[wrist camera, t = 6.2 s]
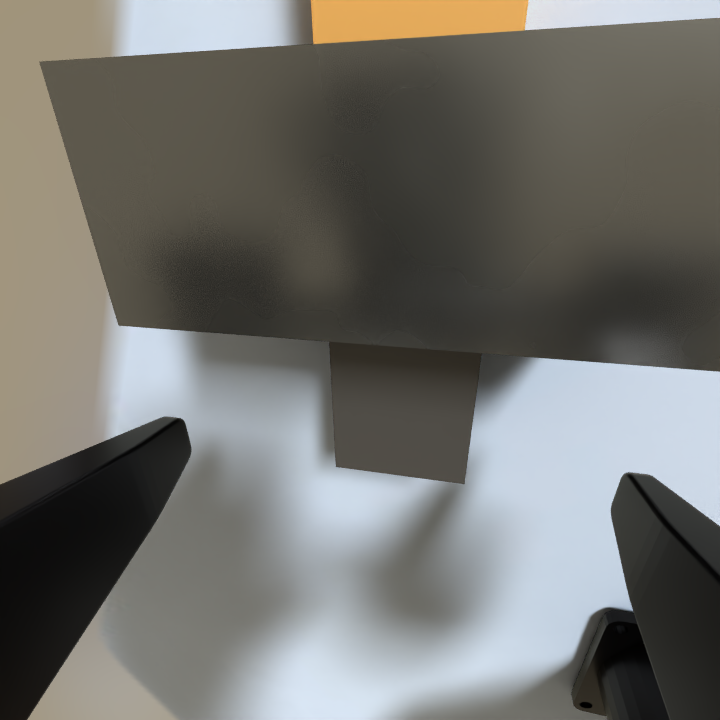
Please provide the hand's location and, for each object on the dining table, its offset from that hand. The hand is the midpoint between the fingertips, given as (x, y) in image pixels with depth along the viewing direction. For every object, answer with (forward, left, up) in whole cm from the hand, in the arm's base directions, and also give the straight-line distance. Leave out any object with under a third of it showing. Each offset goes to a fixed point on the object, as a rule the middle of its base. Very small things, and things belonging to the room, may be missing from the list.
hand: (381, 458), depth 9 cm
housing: (+5, 0, -5) cm, 7 cm away
